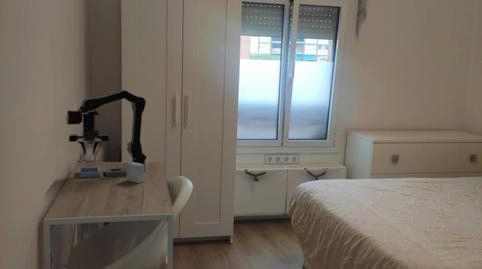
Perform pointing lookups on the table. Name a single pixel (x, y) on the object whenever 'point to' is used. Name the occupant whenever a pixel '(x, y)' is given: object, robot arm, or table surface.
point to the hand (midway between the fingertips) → (89, 154)
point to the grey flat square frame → (116, 171)
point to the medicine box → (135, 172)
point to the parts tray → (89, 172)
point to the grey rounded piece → (89, 152)
